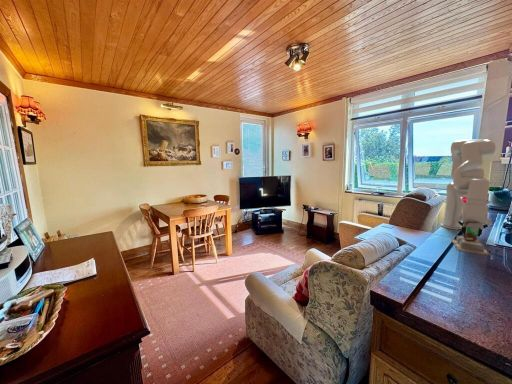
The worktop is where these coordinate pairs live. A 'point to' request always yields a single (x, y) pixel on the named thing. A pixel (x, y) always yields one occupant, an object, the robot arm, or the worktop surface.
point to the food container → (471, 231)
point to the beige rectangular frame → (469, 245)
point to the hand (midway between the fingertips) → (470, 234)
